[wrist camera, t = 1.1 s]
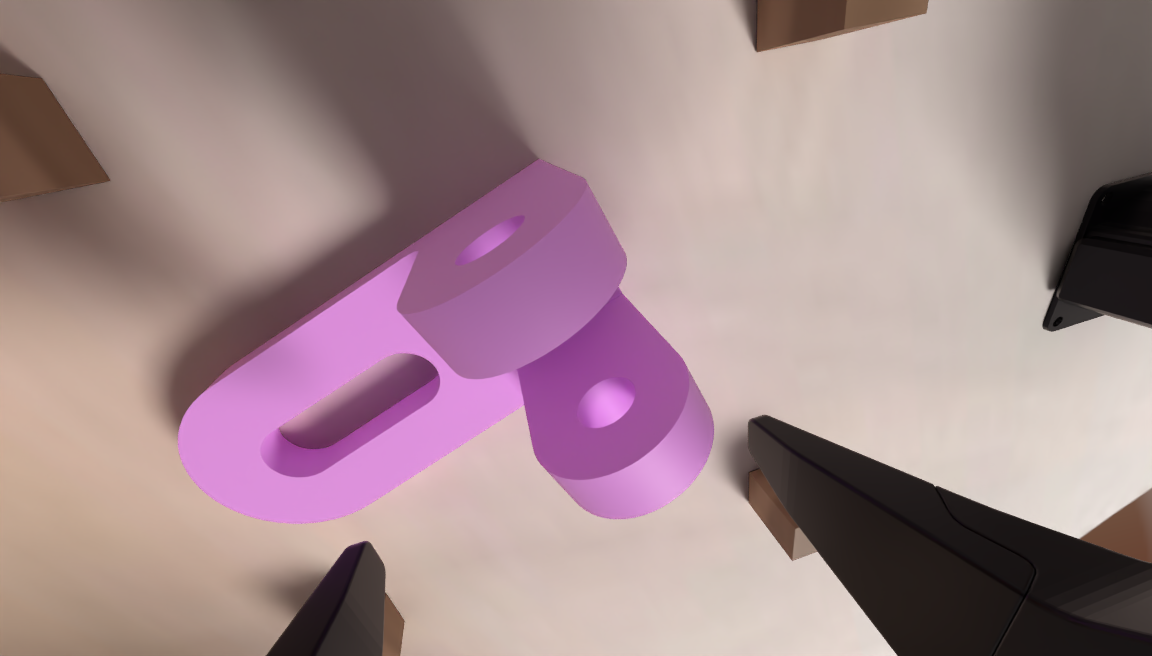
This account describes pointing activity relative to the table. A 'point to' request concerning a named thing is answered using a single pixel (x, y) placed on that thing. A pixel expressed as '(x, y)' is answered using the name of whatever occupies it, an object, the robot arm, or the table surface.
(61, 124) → the tiny cardboard boxes
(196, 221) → the table surface
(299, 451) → the bracket
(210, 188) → the table surface
